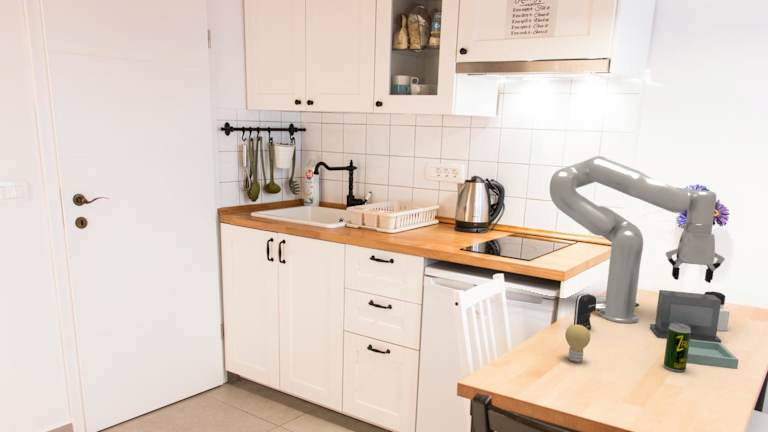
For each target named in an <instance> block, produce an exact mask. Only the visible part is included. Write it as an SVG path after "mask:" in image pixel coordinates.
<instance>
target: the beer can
mask: <svg viewBox="0 0 768 432" xmlns="http://www.w3.org/2000/svg"><path fill="white" fill-rule="evenodd" d="M690 335H691V330H690V327H689V326H688V325H685V324H681V323H670V326H669V327H668V335H667V339H666V342H665V350H664V357H663V359H664V360H663V367H664V368H665V369H666V370H668V371H671V372H675V373H684V372H685V371H686V369H687V364H688V363H687V357H688V349H689V342H690Z"/></svg>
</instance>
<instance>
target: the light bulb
mask: <svg viewBox="0 0 768 432" xmlns="http://www.w3.org/2000/svg"><path fill="white" fill-rule="evenodd" d="M565 340H566V343H567V344H568V346H569V348H568V359H569V360H570V361H571V362H574V363H580V362H582V361H583V358H584V349H585V348H586V347H588V345H589V344H590V341H591V333H590V331H589V330H588V329H587V328H586V327H584V326H582V325H574V324H572V325H570V326H568V327H567V328H566V330H565Z"/></svg>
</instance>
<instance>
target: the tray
mask: <svg viewBox="0 0 768 432" xmlns="http://www.w3.org/2000/svg"><path fill="white" fill-rule="evenodd" d="M687 364H695V365H702V366H703V365H704V366H711V367H718V368H727V369H729V368H730V369H738V366H739V359H738V358H737V356H735V355H734V354H733V353H732V352H731V351H730V349H728V348H726V347H725V346H724V345H723V343H722V342H721V343H718V342H709V341H700V340H691V339H690V342H689V349H688V357H687Z"/></svg>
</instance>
